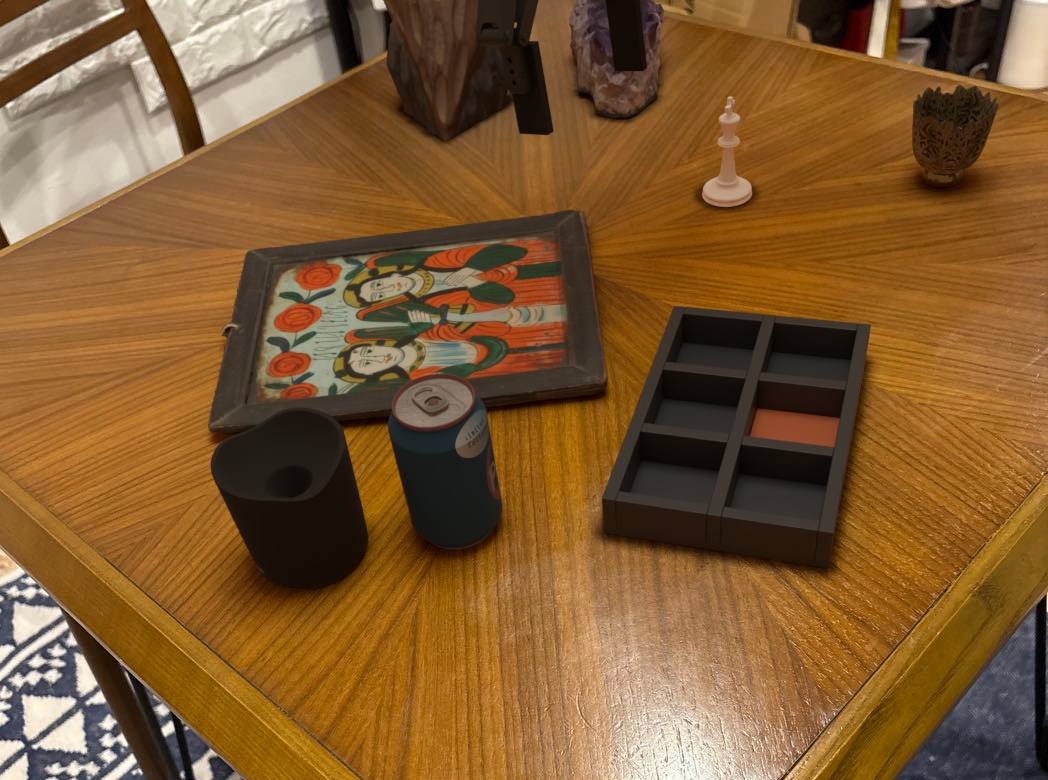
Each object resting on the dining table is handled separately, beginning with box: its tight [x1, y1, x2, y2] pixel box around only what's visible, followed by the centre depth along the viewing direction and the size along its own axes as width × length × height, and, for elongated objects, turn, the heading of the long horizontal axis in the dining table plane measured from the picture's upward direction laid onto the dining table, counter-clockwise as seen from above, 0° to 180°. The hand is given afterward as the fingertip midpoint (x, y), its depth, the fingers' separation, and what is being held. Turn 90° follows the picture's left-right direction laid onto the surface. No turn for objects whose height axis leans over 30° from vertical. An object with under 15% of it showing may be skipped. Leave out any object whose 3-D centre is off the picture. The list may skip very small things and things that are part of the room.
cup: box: [911, 84, 1000, 188], centre depth 105 cm, size 8×7×8 cm
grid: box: [601, 305, 872, 569], centre depth 84 cm, size 16×24×4 cm
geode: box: [568, 0, 665, 119], centre depth 127 cm, size 20×12×10 cm, turn 2°
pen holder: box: [210, 407, 369, 591], centre depth 79 cm, size 9×9×10 cm
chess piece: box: [701, 95, 753, 208], centre depth 107 cm, size 5×5×10 cm
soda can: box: [387, 374, 503, 550], centre depth 79 cm, size 7×7×12 cm
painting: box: [207, 209, 609, 434], centre depth 101 cm, size 28×35×2 cm
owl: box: [382, 0, 511, 142], centre depth 123 cm, size 13×13×20 cm
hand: (585, 100), depth 87 cm, fingers open, 13 cm apart
